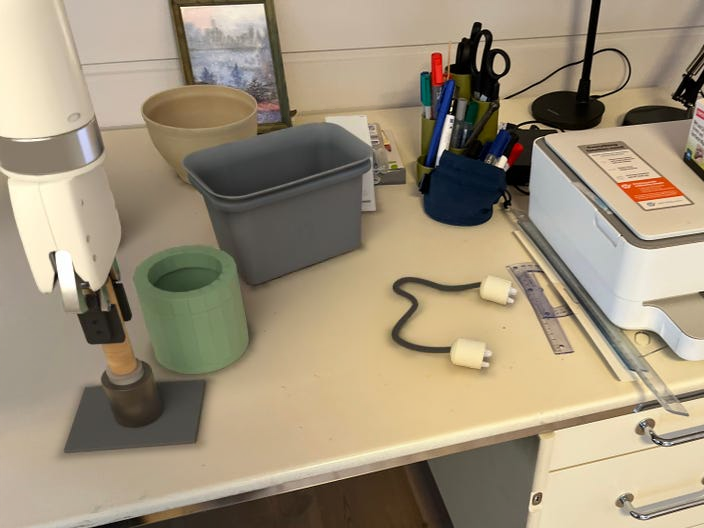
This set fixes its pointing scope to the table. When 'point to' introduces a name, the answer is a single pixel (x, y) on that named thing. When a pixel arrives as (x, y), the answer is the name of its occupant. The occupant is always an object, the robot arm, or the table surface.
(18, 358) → the table surface
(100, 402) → the mat
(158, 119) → the planter bowl
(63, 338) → the table surface
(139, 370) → the brush
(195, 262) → the jar
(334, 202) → the storage bin
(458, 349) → the cable
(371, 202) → the cosmetics box
